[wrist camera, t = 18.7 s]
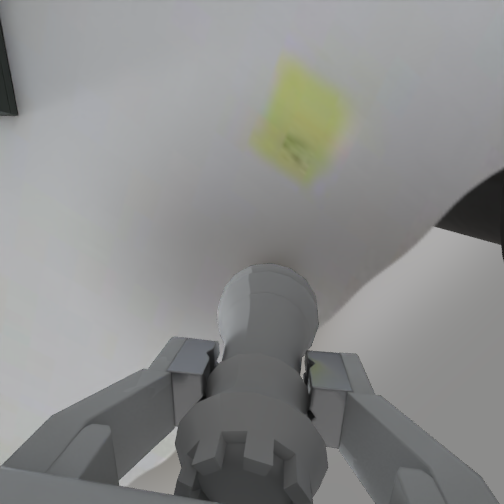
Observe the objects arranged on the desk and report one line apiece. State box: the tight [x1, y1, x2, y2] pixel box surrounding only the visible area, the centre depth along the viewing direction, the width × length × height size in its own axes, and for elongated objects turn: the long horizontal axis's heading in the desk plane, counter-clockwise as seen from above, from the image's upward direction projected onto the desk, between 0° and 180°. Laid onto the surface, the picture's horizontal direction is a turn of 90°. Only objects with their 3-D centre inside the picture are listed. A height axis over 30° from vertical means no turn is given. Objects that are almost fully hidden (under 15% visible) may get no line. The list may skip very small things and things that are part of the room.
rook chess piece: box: [174, 263, 328, 504], centre depth 8 cm, size 4×4×8 cm
